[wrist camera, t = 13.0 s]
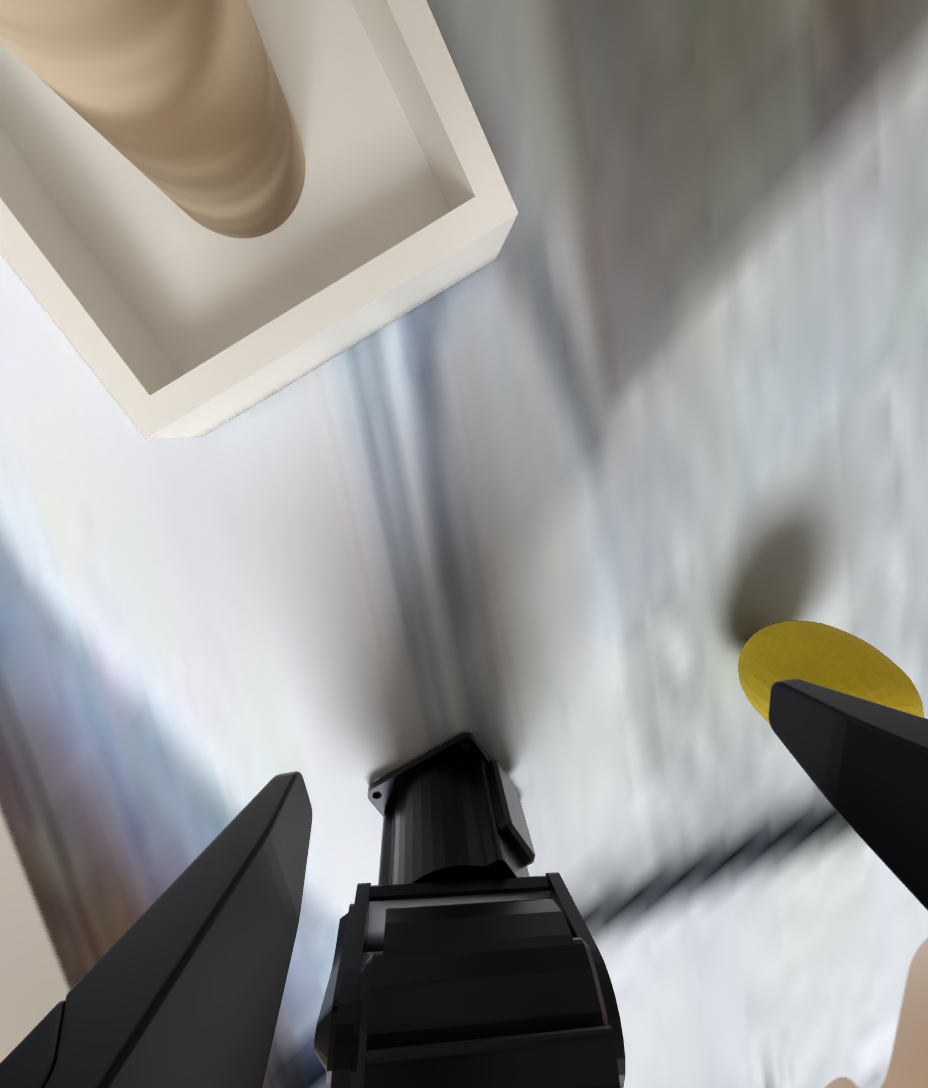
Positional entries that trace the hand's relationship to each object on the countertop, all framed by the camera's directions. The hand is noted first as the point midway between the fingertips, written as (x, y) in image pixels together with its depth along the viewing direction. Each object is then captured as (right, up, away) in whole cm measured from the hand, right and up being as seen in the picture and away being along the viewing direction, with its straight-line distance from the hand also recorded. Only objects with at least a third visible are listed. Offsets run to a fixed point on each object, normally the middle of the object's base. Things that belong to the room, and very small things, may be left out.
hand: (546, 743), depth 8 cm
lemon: (+14, -2, +16) cm, 22 cm away
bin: (-10, +17, +8) cm, 21 cm away
